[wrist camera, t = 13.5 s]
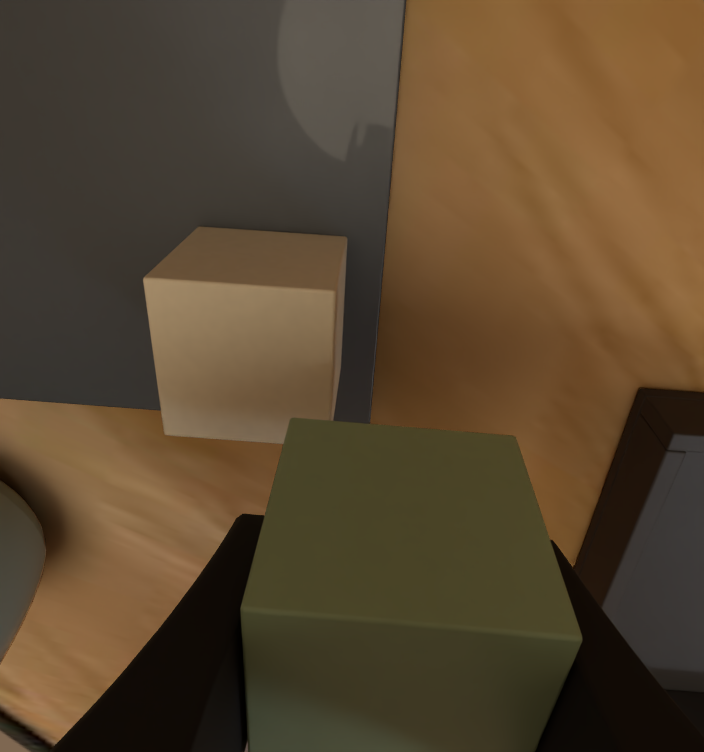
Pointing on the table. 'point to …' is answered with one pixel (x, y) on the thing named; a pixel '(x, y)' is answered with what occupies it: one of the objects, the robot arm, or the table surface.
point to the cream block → (247, 332)
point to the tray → (655, 543)
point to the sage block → (403, 596)
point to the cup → (18, 563)
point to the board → (181, 169)
